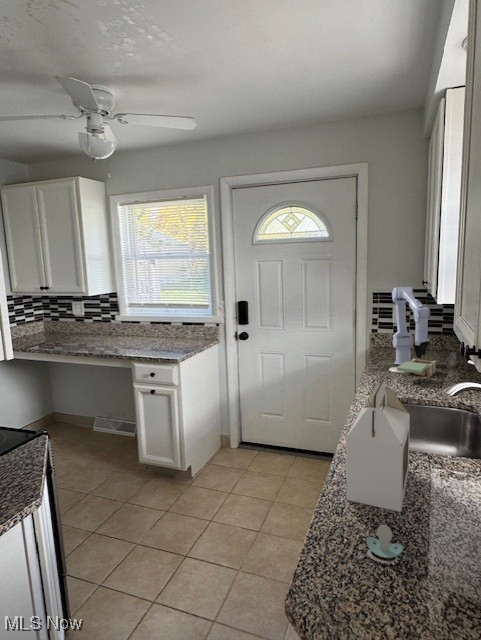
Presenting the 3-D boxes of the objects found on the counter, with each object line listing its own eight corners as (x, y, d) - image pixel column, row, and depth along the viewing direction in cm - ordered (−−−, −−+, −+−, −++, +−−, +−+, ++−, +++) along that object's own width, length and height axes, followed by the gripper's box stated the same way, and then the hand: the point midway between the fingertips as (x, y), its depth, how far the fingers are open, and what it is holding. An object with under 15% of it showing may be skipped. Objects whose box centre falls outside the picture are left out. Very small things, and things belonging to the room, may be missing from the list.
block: (416, 372, 218) (417, 363, 217) (426, 373, 215) (427, 364, 214) (414, 374, 214) (414, 365, 214) (424, 375, 211) (424, 366, 210)
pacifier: (400, 572, 81) (403, 552, 87) (400, 544, 80) (404, 525, 86) (362, 561, 85) (368, 542, 90) (362, 534, 84) (368, 516, 89)
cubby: (414, 369, 224) (414, 358, 223) (435, 371, 217) (436, 360, 217) (406, 374, 214) (406, 363, 213) (429, 377, 207) (429, 366, 206)
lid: (405, 364, 212) (405, 361, 212) (428, 366, 205) (428, 364, 205) (397, 370, 201) (397, 367, 201) (420, 373, 194) (420, 370, 194)
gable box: (362, 462, 125) (362, 373, 121) (408, 470, 119) (410, 377, 115) (346, 500, 106) (345, 396, 102) (400, 513, 100) (402, 402, 96)
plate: (392, 367, 230) (392, 366, 229) (411, 369, 223) (411, 368, 223) (386, 371, 222) (386, 370, 222) (405, 374, 216) (405, 372, 215)
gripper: (425, 333, 203) (425, 360, 205) (433, 329, 214) (432, 354, 216) (411, 332, 208) (410, 358, 210) (419, 328, 219) (418, 353, 221)
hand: (420, 356), depth 213 cm, fingers open, 7 cm apart
